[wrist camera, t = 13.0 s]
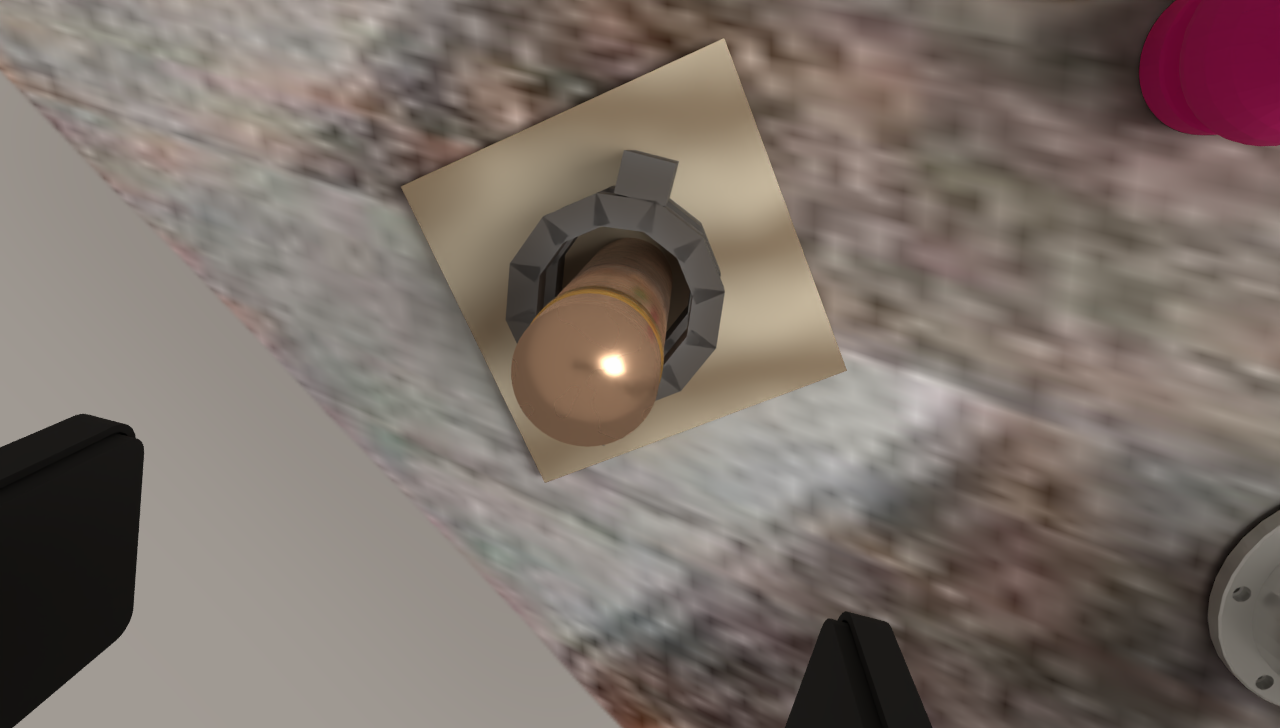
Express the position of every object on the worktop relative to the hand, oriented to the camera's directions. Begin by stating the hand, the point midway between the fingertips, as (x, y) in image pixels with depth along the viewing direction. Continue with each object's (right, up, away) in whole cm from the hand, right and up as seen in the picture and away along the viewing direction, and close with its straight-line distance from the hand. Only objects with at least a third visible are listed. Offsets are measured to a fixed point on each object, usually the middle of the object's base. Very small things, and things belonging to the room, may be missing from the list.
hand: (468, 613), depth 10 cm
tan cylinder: (+2, +7, +26) cm, 27 cm away
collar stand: (+2, +8, +27) cm, 28 cm away
